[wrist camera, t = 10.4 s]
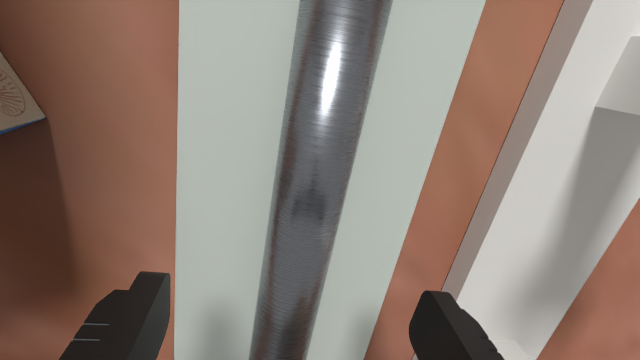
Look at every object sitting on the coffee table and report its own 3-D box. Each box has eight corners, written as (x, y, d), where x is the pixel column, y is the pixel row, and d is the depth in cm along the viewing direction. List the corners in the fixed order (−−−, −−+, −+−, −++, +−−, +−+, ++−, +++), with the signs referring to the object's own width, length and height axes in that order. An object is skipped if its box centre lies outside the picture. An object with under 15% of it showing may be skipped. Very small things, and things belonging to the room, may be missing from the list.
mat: (176, 380, 21) (173, 389, 20) (187, -198, 10) (182, -212, 10) (351, 382, 23) (352, 390, 22) (509, -94, 12) (519, -100, 12)
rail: (289, 377, 21) (298, 429, 18) (241, 383, 20) (242, 439, 17) (394, -101, 11) (447, -143, 9) (310, -133, 11) (339, -193, 8)
